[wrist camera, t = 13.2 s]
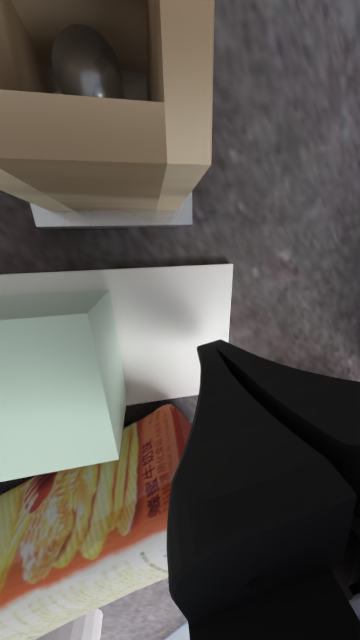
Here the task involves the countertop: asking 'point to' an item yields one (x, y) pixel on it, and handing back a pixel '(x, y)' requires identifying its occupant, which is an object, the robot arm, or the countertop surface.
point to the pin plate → (113, 217)
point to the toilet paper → (78, 628)
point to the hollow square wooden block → (107, 106)
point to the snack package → (89, 530)
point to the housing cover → (59, 383)
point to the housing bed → (150, 319)
